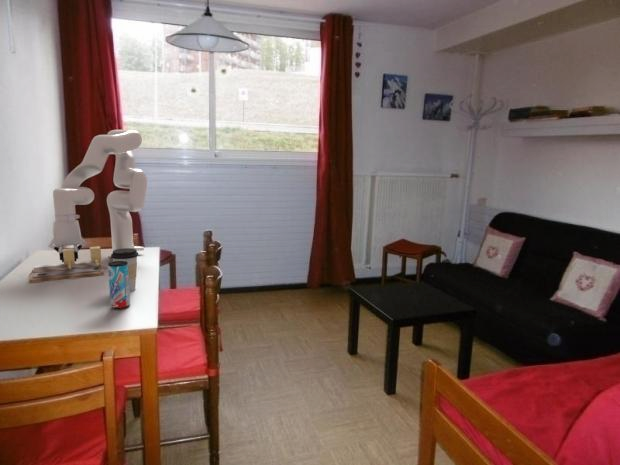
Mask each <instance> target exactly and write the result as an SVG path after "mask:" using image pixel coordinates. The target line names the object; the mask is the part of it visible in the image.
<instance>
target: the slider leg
mask: <svg viewBox="0 0 620 465" xmlns="http://www.w3.org/2000/svg"><path fill="white" fill-rule="evenodd" d="M74 250H75V249H74V247H73V248H62V251H63V258H64V262H63V264H64V265H68V268H69V270H71V264H75V263H76V261H75V258H74Z"/></svg>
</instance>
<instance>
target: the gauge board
mask: <svg viewBox="0 0 620 465" xmlns="http://www.w3.org/2000/svg"><path fill="white" fill-rule="evenodd" d="M98 265H99V267H98V268H96V262H92V263H91V260H88V261H87V260H86V261H75V264H71V270H69V268H68V265H64V263H56V264H45V265H37V266H36V265H35V266H33V269H31V271H30V276H29V283H30V284H31V283H42V282H50V281H59V280H70V279H76V278H77V279H78V278H87V277H96V276H104V275H105V274H104V273H105V272H104V269H103V265H102V263H101V262H98Z"/></svg>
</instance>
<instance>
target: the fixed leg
mask: <svg viewBox="0 0 620 465" xmlns="http://www.w3.org/2000/svg"><path fill="white" fill-rule="evenodd" d="M89 252H90V253H89V254H90V255H89V257H90V261H91V263H92V262H96V268H98V267H99V265H98V262H99V263H101V262H102V250H101V246H99V245H98V246H89Z"/></svg>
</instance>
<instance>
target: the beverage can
mask: <svg viewBox="0 0 620 465" xmlns="http://www.w3.org/2000/svg"><path fill="white" fill-rule="evenodd" d="M107 268H108V269H107V270H108V271H107V272H108V284H109V296H110V297H109V298H110V307H111V309H112V310H125V309H127V308H129V307H130V306H131V297H130V296H131V294H130V293H131V292H129V275H128V262H126V261H114V262H113V261H110V262H108V263H107Z"/></svg>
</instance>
